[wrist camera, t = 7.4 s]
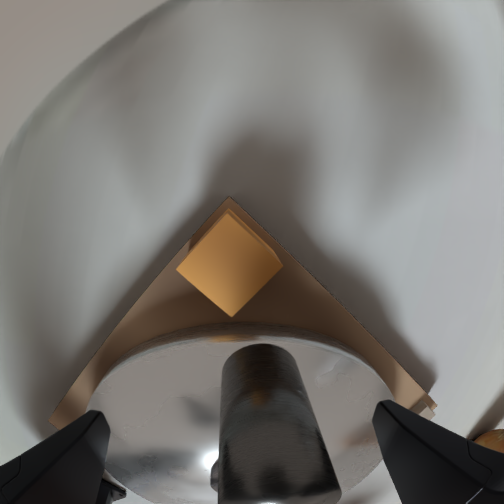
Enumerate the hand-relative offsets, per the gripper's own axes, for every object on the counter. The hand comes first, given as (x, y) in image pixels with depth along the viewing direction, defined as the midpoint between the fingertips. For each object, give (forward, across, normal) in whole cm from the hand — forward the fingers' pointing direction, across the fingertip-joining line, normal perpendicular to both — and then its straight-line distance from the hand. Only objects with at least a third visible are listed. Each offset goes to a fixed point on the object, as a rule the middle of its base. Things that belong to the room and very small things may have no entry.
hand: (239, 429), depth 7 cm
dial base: (+6, 0, +8) cm, 10 cm away
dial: (+5, 0, +8) cm, 9 cm away
